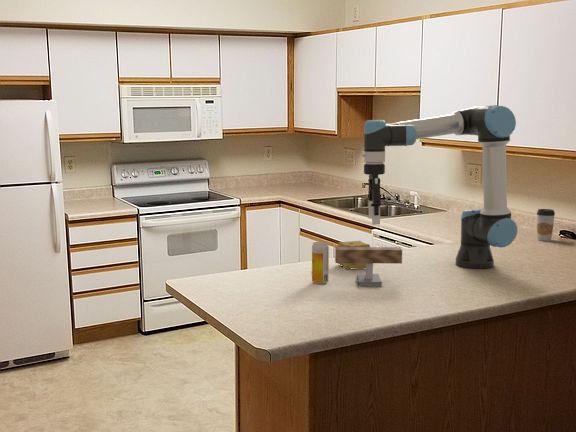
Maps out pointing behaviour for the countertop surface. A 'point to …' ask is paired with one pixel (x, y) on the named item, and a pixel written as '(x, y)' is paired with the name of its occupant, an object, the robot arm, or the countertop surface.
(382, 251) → the walnut bar
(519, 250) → the countertop surface
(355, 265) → the cheese
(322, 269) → the beer can
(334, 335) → the countertop surface
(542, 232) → the coffee cup
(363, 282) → the fulcrum
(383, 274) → the countertop surface
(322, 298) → the countertop surface
